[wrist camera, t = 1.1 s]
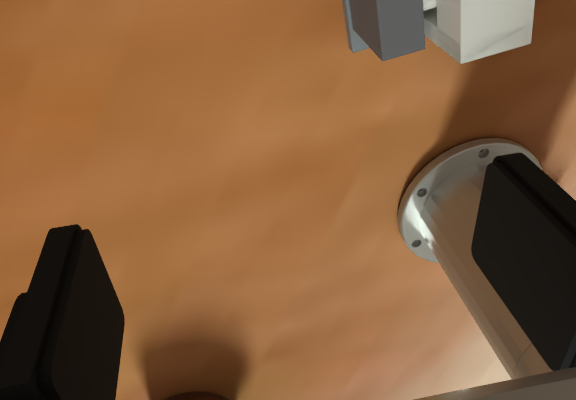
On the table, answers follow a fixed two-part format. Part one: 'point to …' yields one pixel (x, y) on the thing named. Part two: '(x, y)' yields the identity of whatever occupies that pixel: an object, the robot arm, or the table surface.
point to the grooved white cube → (479, 26)
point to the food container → (197, 396)
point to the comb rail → (386, 26)
